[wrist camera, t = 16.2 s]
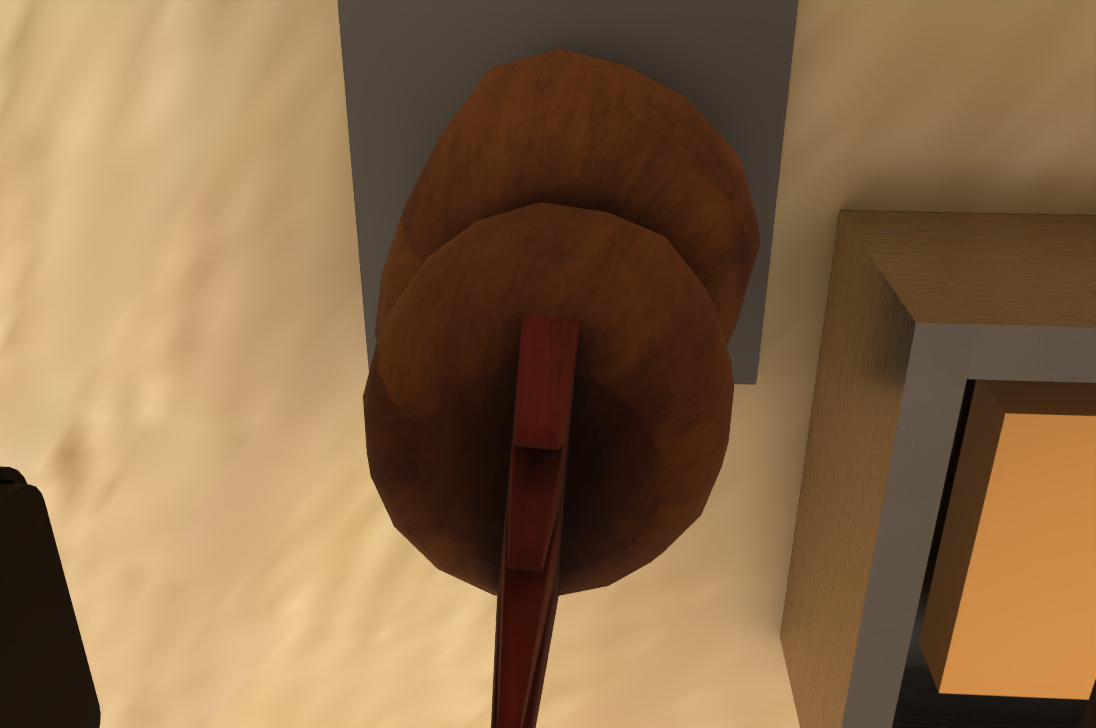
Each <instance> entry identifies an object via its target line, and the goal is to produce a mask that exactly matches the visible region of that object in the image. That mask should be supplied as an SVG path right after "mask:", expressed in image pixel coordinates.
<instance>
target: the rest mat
mask: <svg viewBox="0 0 1096 728" xmlns="http://www.w3.org/2000/svg"><path fill="white" fill-rule="evenodd" d="M797 7H798V0H338V11H339V23H340V35H341V47H342V58H343V70H344V82H345V94H346V106H347V117H348V129H349V141H350V153H351V165H352V176H353V188H354V200H355V212H356V223H357V235H358V247H359V259H360V271H361V282H362V294H363V306H364V318H365V330H366V341H367V353H368V365H369V371H370V367H371V363H372V359H373V355H374V351H375V347H376V343H377V340H376V338H375V335H374V333H375V325H376V316H377V308H378V300H379V291H380V283H381V274H382V270H383V267H384V264H385V261H386V258H387V255H388V252H389V250H390V247H391V244H392V241H393V238H394V235H395V232H396V229H397V226H398V223H399V221H400V218H401V215H402V212H403V210H404V207H405V205H406V203H407V200H408V198H409V195H410V193H411V191H412V189H413V187H414V185H415V183H416V181H417V179H418V178H419V176H420V174H421V172H422V170H423V168H424V166H425V164H426V162H427V160H428V158H429V156H430V154H431V152H432V150H433V149H434V147H435V145H436V143H437V141H438V139H439V137H440V135H441V134H442V132H443V131H444V130H445V128H446V127H447V125H448V124H449V122H450V121H451V120H452V118H453V117H454V116H455V114H456V113H457V112H458V110H459V109H460V108H461V106H462V105H463V104H464V102H465V101H466V100H467V98H468V97H469V96H470V94H471V93H472V92H473V90H474V89H475V88H476V86H477V85H478V84H479V82H480V81H481V80H482V78H483V77H484V76H485V74H486V73H487V72H488V70H489V69H490V68H492V67H496V66H499V65H503V64H506V63H510V62H513V61H517V60H520V59H524V58H528V57H531V56H535V55H538V54H542V53H545V52H549V51H552V50H556V49H563V50H567V51H571V52H575V53H579V54H583V55H587V56H591V57H594V58H598V59H602V60H606V61H610V62H614V63H618V64H622V65H625V66H628V67H630V68H632V69H634V70H636V71H638V72H639V73H641V74H643V75H645V76H647V77H649V78H651V79H653V80H655V81H657V82H659V83H660V84H662V85H664V86H666V87H668V88H670V89H672V90H674V91H676V92H678V93H679V94H681V95H683V96H685V97H686V98H687V99H688V100H689V101H690V102H691V103H692V104H693V105H694V106H695V107H696V109H697V110H698V111H699V112H700V113H701V114H702V115H703V116H704V117H705V118H706V119H707V120H708V121H709V122H710V123H711V124H712V126H713V127H714V128H715V129H716V130H717V131H718V132H719V133H720V134H721V135H722V136H723V137H724V138H725V139H726V140H727V142H728V143H729V144H730V145H731V146H732V147H733V149H734V150H735V151H736V153H737V154H738V156H739V157H740V160H741V163H742V167H743V170H744V174H745V177H746V181H747V184H748V188H749V191H750V195H751V198H752V202H753V205H754V209H755V212H756V216H757V219H758V223H759V234H760V246H759V250H758V253H757V257H756V260H755V264H754V267H753V270H752V274H751V277H750V281H749V284H748V288H747V291H746V295H745V298H744V302H743V305H742V308H741V312H740V315H739V318H738V321H737V325H736V327H735V329H734V331H733V334H732V336H731V338H730V340H729V342H728V344H727V349H728V353H729V356H730V359H731V366H732V373H733V381H734V384H755V385H756V381H757V371H758V362H759V353H760V344H761V335H762V326H763V317H764V308H765V298H766V289H767V280H768V271H769V262H770V253H771V244H772V235H773V225H774V216H775V207H776V198H777V189H778V180H779V171H780V162H781V152H782V143H783V134H784V125H785V116H786V107H787V98H788V89H789V80H790V70H791V61H792V52H793V43H794V34H795V25H796V16H797Z"/></svg>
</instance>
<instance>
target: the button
mask: <svg viewBox="0 0 1096 728" xmlns="http://www.w3.org/2000/svg"><path fill="white" fill-rule="evenodd" d="M919 645H920V647H921V650H922V652H923V655H924V657H925V660H926V662H927V665H928V667H929V670H930V672H931V675H932V677H933V680H934V682H935V685H936V687H937V690H938V692H939V693H949V694H971V695H994V696H1017V697H1039V698H1062V699H1085V700H1089V697H1090V694H1091V691H1092V688H1093V685H1094V682H1095V679H1096V383H1084V382H1050V381H1015V380H981V379H976V383H975V388H974V392H973V397H972V401H971V406H970V411H969V415H968V420H967V424H966V429H965V433H964V438H963V442H962V447H961V451H960V456H959V461H958V465H957V470H956V474H955V479H954V483H953V488H952V492H951V497H950V501H949V506H948V510H947V515H946V520H945V524H944V529H943V533H942V538H941V542H940V547H939V551H938V556H937V560H936V565H935V570H934V574H933V579H932V583H931V588H930V592H929V597H928V601H927V606H926V610H925V615H924V620H923V624H922V629H921V633H920V638H919Z"/></svg>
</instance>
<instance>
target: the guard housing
mask: <svg viewBox="0 0 1096 728" xmlns="http://www.w3.org/2000/svg"><path fill="white" fill-rule="evenodd" d="M976 379H981V380H1015V381H1050V382H1084V383H1096V216H1082V215H1035V214H987V213H940V212H892V211H845V210H840V214H839V222H838V229H837V236H836V243H835V250H834V257H833V265H832V272H831V279H830V286H829V293H828V300H827V308H826V315H825V322H824V329H823V336H822V343H821V350H820V358H819V365H818V372H817V379H816V386H815V393H814V401H813V408H812V415H811V422H810V429H809V436H808V444H807V451H806V458H805V465H804V472H803V479H802V486H801V494H800V501H799V508H798V515H797V522H796V529H795V537H794V544H793V551H792V558H791V565H790V572H789V580H788V587H787V594H786V601H785V608H784V615H783V622H782V630H781V637H780V639H781V643H782V648H783V652H784V657H785V661H786V666H787V670H788V675H789V680H790V684H791V689H792V693H793V698H794V702H795V707H796V711H797V716H798V720H799V725H800V728H1079V727H1080V724H1081V721H1082V718H1083V715H1084V712H1085V709H1086V706H1087V703H1088V700H1085V699H1062V698H1039V697H1017V696H994V695H971V694H949V693H939V692H938V690H937V687H936V685H935V682H934V680H933V677H932V675H931V672H930V670H929V667H928V665H927V662H926V660H925V657H924V655H923V652H922V650H921V647H920V645H919V638H920V633H921V629H922V624H923V620H924V615H925V610H926V606H927V601H928V597H929V592H930V588H931V583H932V579H933V574H934V570H935V565H936V560H937V556H938V551H939V547H940V542H941V538H942V533H943V529H944V524H945V520H946V515H947V510H948V506H949V501H950V497H951V492H952V488H953V483H954V479H955V474H956V470H957V465H958V461H959V456H960V451H961V447H962V442H963V438H964V433H965V429H966V424H967V420H968V415H969V411H970V406H971V401H972V397H973V392H974V388H975V383H976Z"/></svg>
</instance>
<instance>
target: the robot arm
mask: <svg viewBox="0 0 1096 728" xmlns="http://www.w3.org/2000/svg"><path fill="white" fill-rule="evenodd" d="M100 716H101V713H100V706H99V702H98V698H97V695H96V691H95V687H94V683H93V680H92V676H91V672H90V669H89V665H88V661H87V657H86V654H85V650H84V646H83V642H82V639H81V635H80V631H79V628H78V624H77V620H76V616H75V613H74V609H73V605H72V601H71V598H70V594H69V590H68V587H67V583H66V579H65V575H64V572H63V568H62V564H61V560H60V557H59V553H58V549H57V546H56V542H55V538H54V534H53V531H52V527H51V523H50V519H49V516H48V512H47V508H46V505H45V501H44V498H43V496H42V494H41V492H40V491H39V490H38V488H37V487H35V486H32V485H29V484H27V482H26V480H25V478H24V476H23V475H22V474H21V473H20V472H19V471H18V470H16V469H13V468H11V467H0V728H99V727H100ZM1079 728H1096V679H1095V682H1094V685H1093V688H1092V691H1091V694H1090V697H1089V700H1088V703H1087V706H1086V709H1085V712H1084V715H1083V718H1082V721H1081V724H1080V727H1079Z"/></svg>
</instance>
